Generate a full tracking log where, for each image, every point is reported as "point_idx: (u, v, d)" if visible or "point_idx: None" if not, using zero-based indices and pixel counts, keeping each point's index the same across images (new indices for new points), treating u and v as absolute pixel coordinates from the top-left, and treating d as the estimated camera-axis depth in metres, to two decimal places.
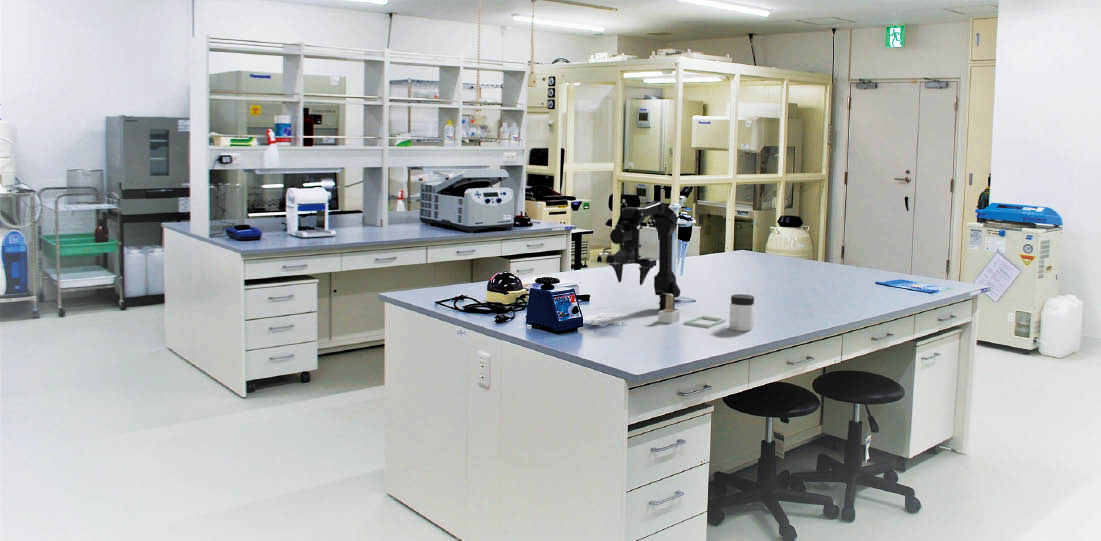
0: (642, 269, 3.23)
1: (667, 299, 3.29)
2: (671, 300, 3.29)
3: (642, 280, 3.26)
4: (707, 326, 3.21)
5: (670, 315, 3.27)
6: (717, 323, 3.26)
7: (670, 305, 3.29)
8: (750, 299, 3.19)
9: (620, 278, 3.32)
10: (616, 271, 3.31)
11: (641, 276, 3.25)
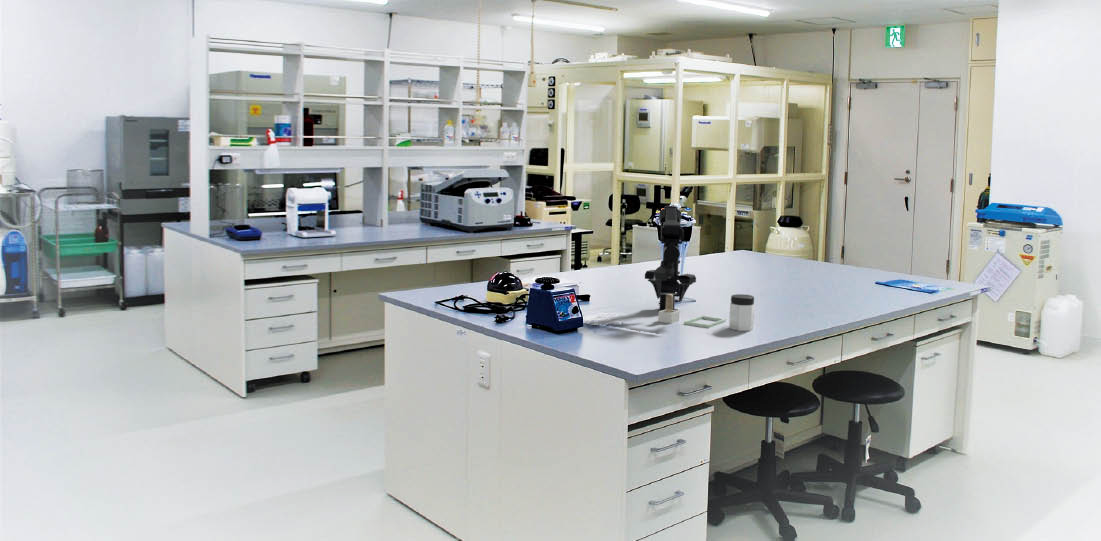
0: (682, 286, 3.24)
1: (667, 299, 3.29)
2: (671, 300, 3.29)
3: (681, 296, 3.27)
4: (707, 326, 3.21)
5: (670, 315, 3.27)
6: (717, 323, 3.26)
7: (670, 305, 3.29)
8: (750, 299, 3.19)
9: (659, 294, 3.33)
10: (655, 287, 3.32)
11: (681, 292, 3.26)
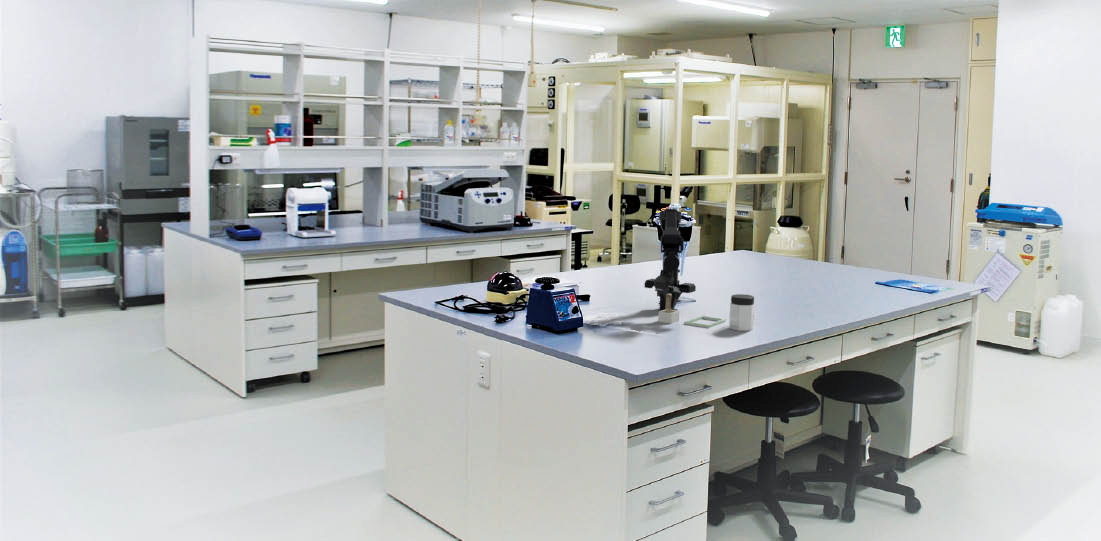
0: (674, 294, 3.26)
1: (667, 299, 3.29)
2: (671, 300, 3.29)
3: (674, 304, 3.29)
4: (707, 326, 3.21)
5: (670, 315, 3.27)
6: (717, 323, 3.26)
7: (670, 305, 3.29)
8: (750, 299, 3.19)
9: None
10: (662, 297, 3.30)
11: (673, 300, 3.28)
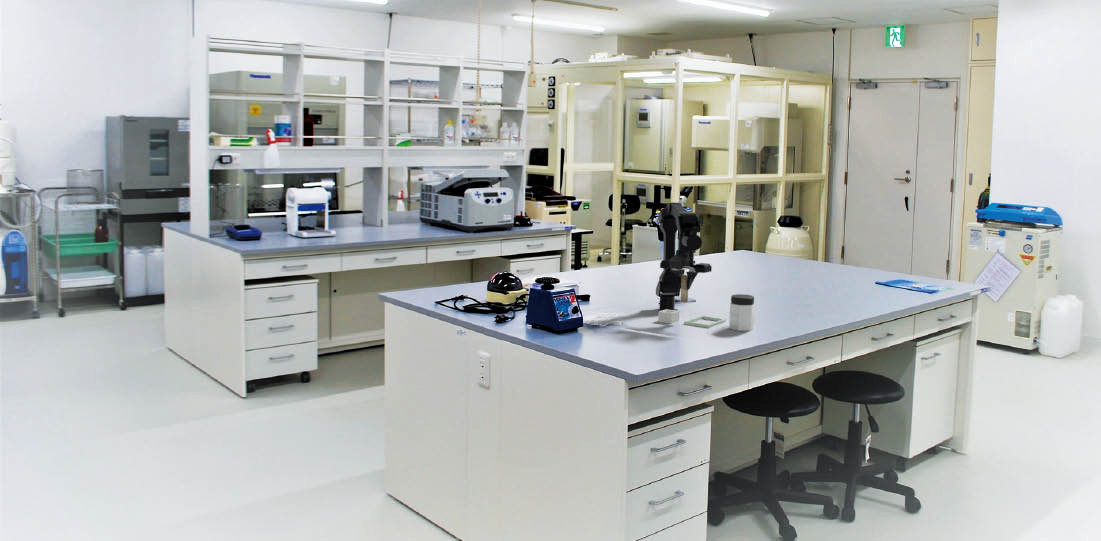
0: (690, 274, 3.24)
1: (682, 279, 3.27)
2: None
3: (689, 285, 3.27)
4: (707, 326, 3.21)
5: (670, 315, 3.27)
6: (717, 323, 3.26)
7: (685, 285, 3.27)
8: (750, 299, 3.19)
9: None
10: (678, 277, 3.28)
11: (688, 281, 3.26)
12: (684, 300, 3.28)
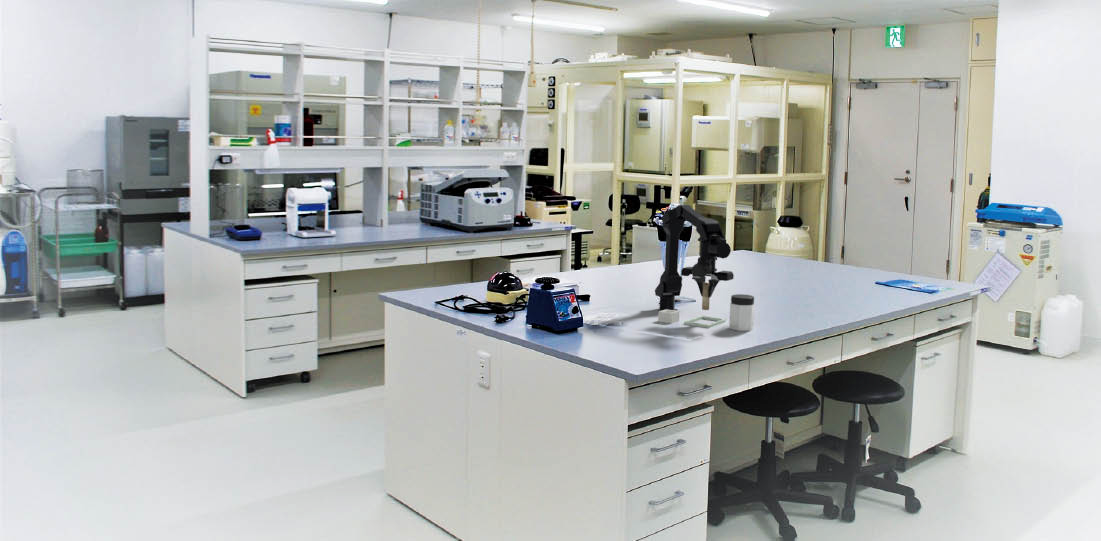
0: (712, 281, 3.23)
1: (704, 287, 3.26)
2: (708, 288, 3.26)
3: (711, 292, 3.26)
4: (707, 326, 3.21)
5: (670, 315, 3.27)
6: (717, 323, 3.26)
7: (707, 293, 3.26)
8: (750, 299, 3.19)
9: None
10: (699, 285, 3.27)
11: (710, 288, 3.25)
12: (706, 308, 3.27)
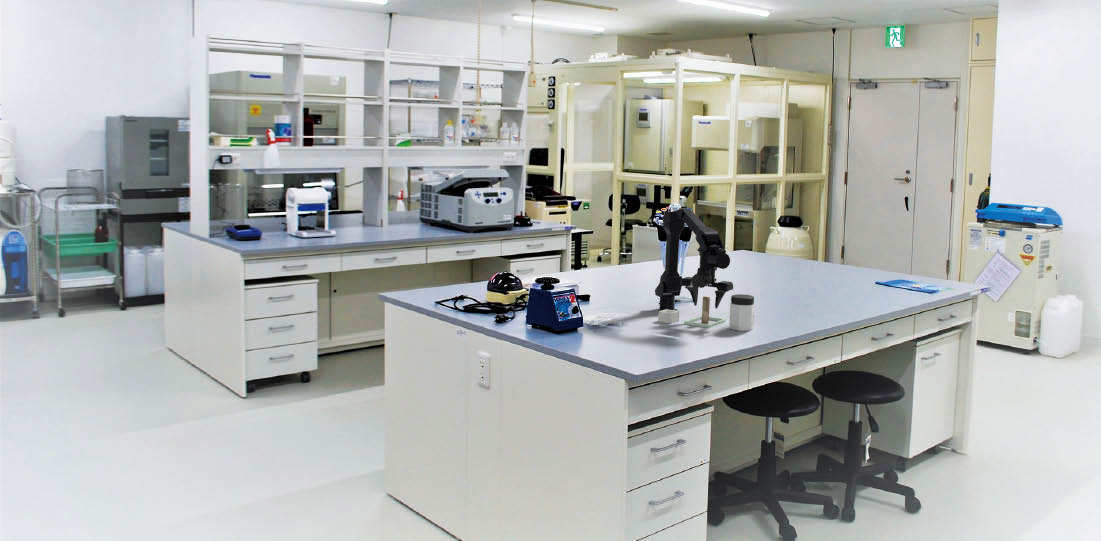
0: (718, 293, 3.22)
1: (704, 301, 3.27)
2: (708, 302, 3.27)
3: (717, 303, 3.25)
4: (707, 326, 3.21)
5: (670, 315, 3.27)
6: (717, 323, 3.26)
7: (707, 307, 3.27)
8: (750, 299, 3.19)
9: (696, 301, 3.30)
10: (692, 294, 3.29)
11: (717, 300, 3.24)
12: (705, 322, 3.28)
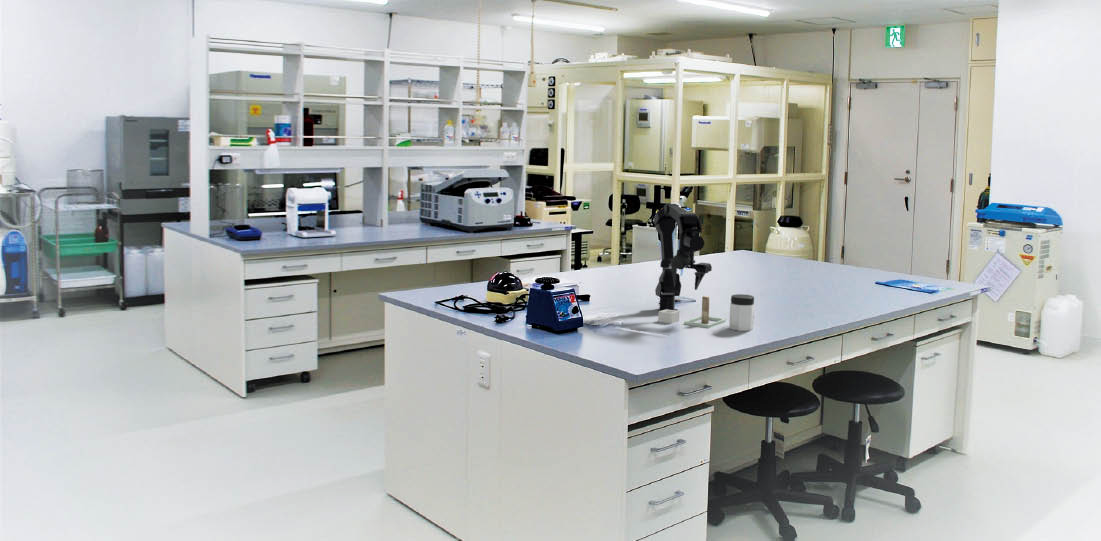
0: (698, 274, 3.28)
1: (703, 301, 3.27)
2: (708, 302, 3.27)
3: (697, 285, 3.31)
4: (707, 326, 3.21)
5: (670, 315, 3.27)
6: (717, 323, 3.26)
7: (707, 307, 3.27)
8: (750, 299, 3.19)
9: (674, 282, 3.37)
10: (670, 275, 3.36)
11: (696, 281, 3.30)
12: (705, 322, 3.28)
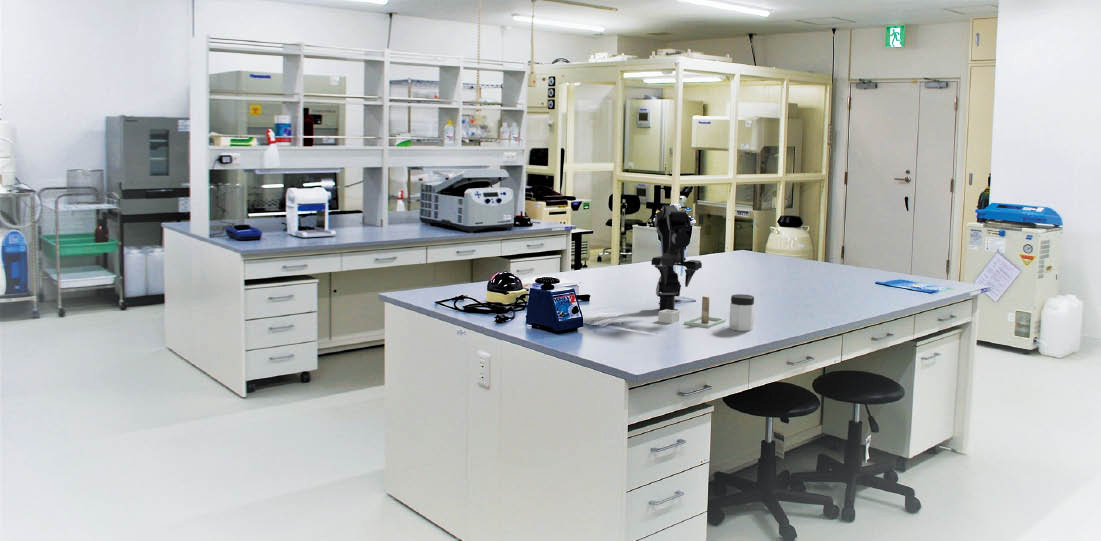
0: (688, 271, 3.30)
1: (703, 301, 3.27)
2: (708, 302, 3.27)
3: (687, 282, 3.33)
4: (707, 326, 3.21)
5: (670, 315, 3.27)
6: (717, 323, 3.26)
7: (707, 307, 3.27)
8: (750, 299, 3.19)
9: (665, 280, 3.40)
10: (661, 273, 3.39)
11: (687, 278, 3.32)
12: (705, 322, 3.28)
